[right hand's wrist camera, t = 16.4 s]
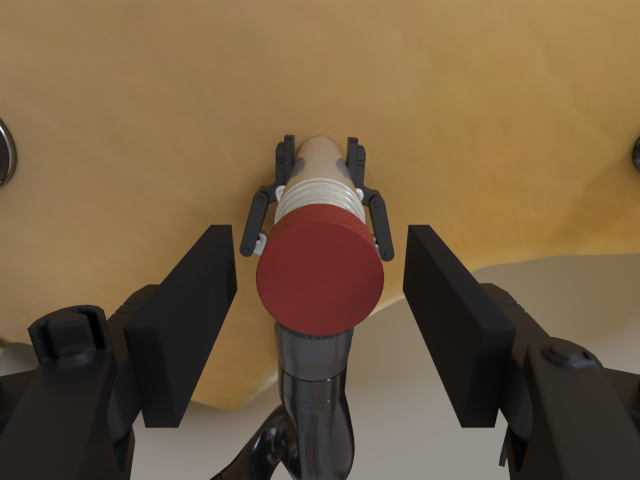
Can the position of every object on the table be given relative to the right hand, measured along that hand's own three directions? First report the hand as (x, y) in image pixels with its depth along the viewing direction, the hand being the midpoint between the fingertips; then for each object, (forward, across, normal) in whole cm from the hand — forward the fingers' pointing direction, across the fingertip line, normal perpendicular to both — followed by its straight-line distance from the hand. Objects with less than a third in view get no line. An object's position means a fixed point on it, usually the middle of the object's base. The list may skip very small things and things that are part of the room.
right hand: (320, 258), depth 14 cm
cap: (-2, 0, 0) cm, 2 cm away
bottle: (+24, 0, 0) cm, 24 cm away
